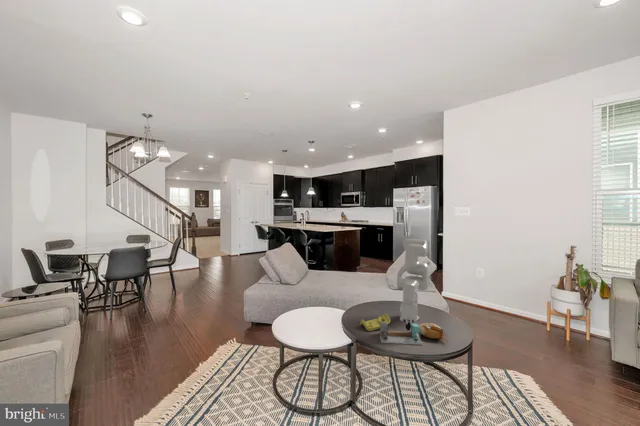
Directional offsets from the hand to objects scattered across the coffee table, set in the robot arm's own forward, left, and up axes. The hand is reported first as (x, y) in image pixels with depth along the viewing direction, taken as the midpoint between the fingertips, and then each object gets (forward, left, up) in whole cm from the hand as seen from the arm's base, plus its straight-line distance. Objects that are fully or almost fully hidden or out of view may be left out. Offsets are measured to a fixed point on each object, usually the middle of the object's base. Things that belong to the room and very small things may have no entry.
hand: (408, 329), depth 175 cm
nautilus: (+1, +16, -5) cm, 16 cm away
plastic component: (-12, -19, -5) cm, 23 cm away
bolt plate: (+7, -6, -5) cm, 10 cm away
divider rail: (+3, -5, -5) cm, 8 cm away
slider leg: (+3, +4, -4) cm, 7 cm away
